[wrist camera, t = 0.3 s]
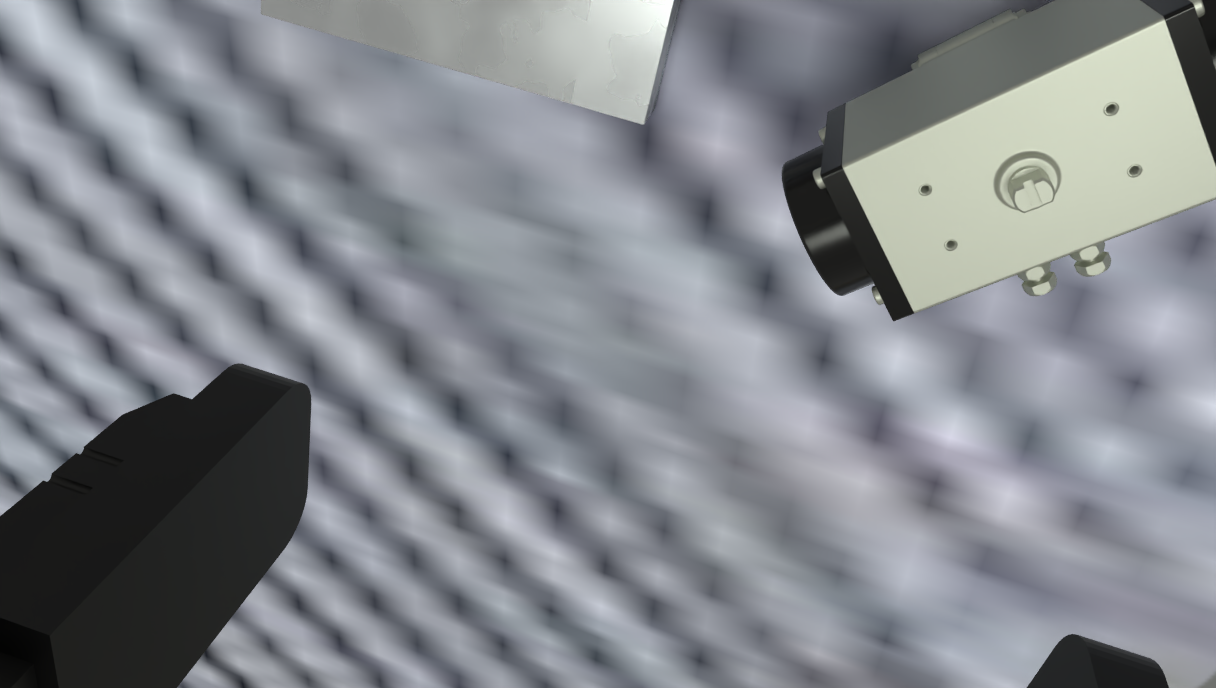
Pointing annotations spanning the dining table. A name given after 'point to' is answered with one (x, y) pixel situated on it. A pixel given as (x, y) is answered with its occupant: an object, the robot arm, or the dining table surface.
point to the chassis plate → (517, 42)
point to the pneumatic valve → (1013, 152)
